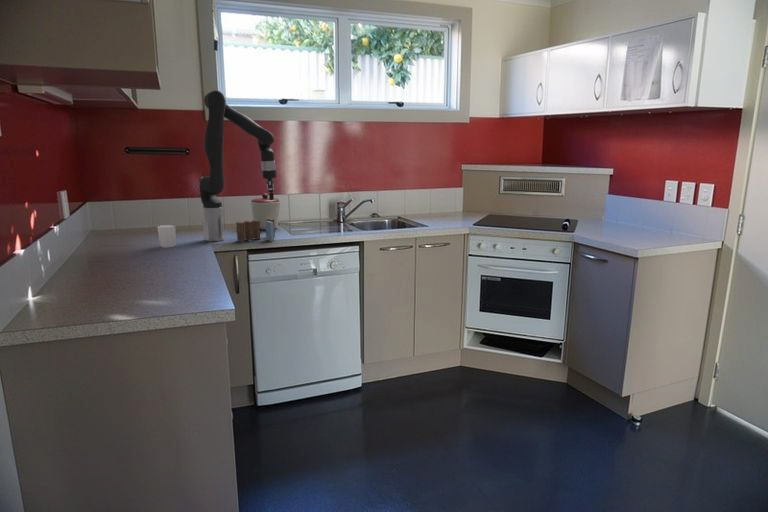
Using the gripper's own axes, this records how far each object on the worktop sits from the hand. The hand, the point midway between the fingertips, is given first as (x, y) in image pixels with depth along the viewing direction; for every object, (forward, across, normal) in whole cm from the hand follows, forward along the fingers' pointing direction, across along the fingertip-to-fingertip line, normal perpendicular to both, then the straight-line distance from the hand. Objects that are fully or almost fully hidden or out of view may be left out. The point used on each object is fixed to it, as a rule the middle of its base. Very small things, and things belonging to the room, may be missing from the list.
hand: (271, 199), depth 283 cm
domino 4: (+20, +10, -2) cm, 22 cm away
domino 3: (+19, +15, -10) cm, 26 cm away
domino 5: (+19, +20, -3) cm, 28 cm away
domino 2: (+19, +17, -14) cm, 29 cm away
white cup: (+17, +27, -52) cm, 61 cm away
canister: (+20, -20, -5) cm, 29 cm away
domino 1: (+18, +20, -17) cm, 32 cm away
